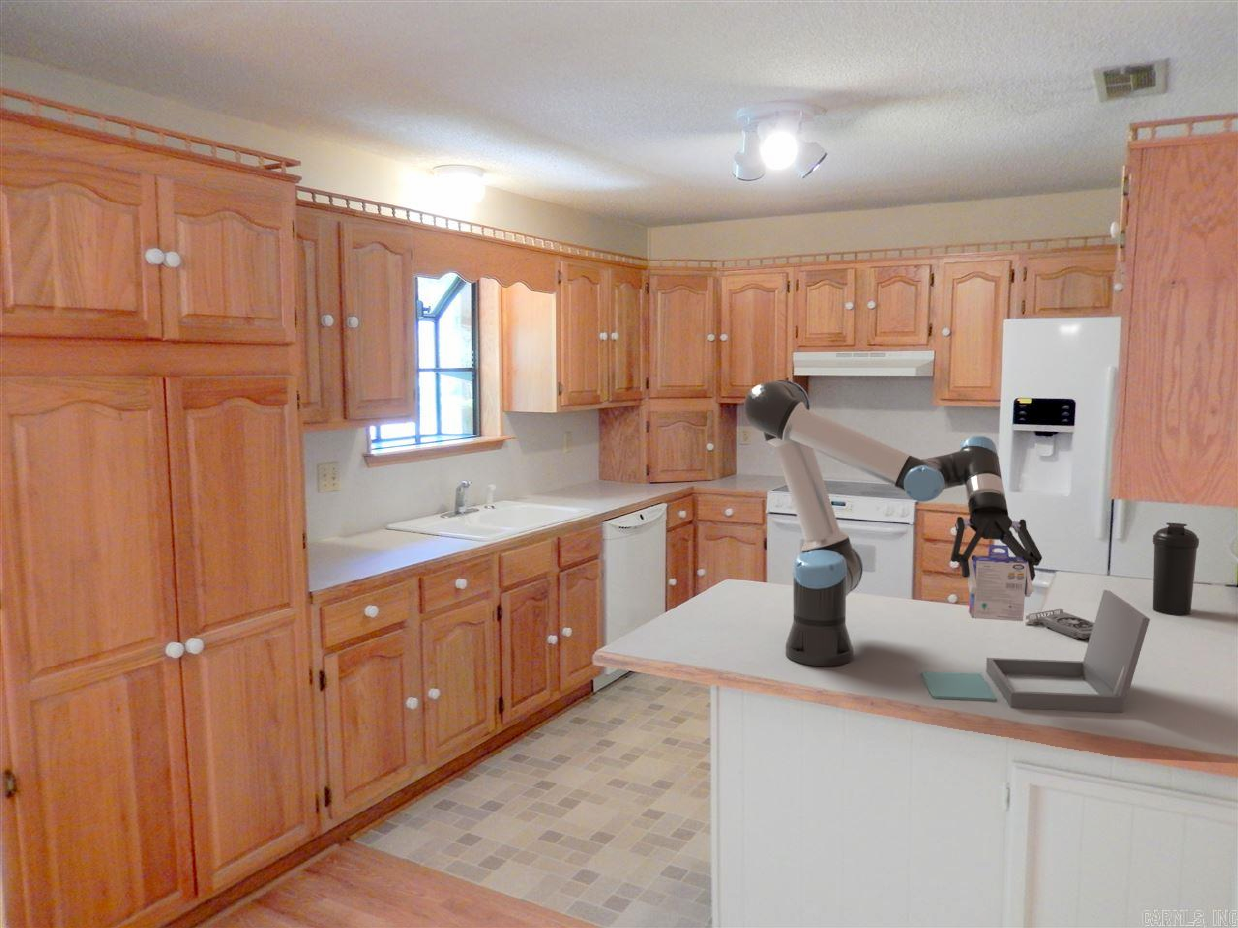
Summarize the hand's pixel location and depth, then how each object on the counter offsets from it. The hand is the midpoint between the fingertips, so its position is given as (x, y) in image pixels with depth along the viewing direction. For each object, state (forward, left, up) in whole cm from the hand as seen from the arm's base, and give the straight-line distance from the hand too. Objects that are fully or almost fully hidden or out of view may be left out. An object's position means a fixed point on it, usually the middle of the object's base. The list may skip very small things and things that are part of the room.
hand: (1001, 592), depth 176 cm
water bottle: (+59, +65, -21) cm, 90 cm away
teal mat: (-7, +3, -21) cm, 23 cm away
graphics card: (+27, +44, -22) cm, 56 cm away
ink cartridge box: (0, +3, -6) cm, 7 cm away
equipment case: (+13, +3, -21) cm, 25 cm away
